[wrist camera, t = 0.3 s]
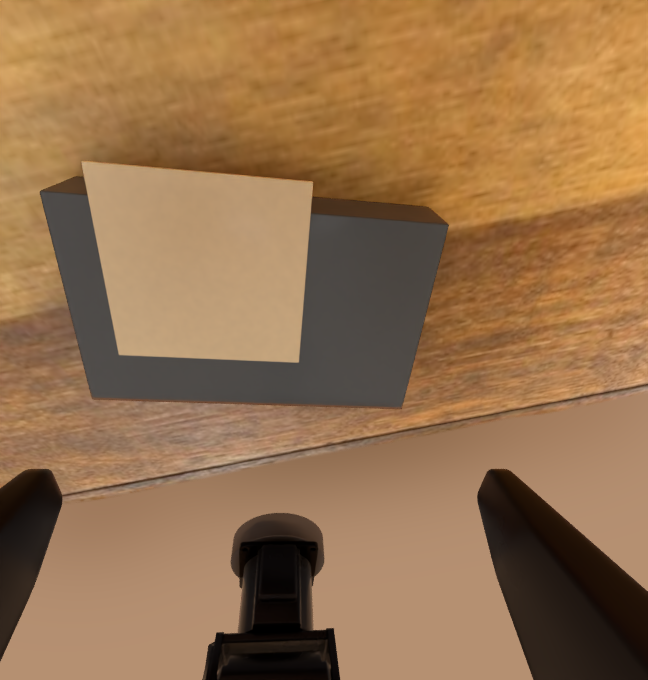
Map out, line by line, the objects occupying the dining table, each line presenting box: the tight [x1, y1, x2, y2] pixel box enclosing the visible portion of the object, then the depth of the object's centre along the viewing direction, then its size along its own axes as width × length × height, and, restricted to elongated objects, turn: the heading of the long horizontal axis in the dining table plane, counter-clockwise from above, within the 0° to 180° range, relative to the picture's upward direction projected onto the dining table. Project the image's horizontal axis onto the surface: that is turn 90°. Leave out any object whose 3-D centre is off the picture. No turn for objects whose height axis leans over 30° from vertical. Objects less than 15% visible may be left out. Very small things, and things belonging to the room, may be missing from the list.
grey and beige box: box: [40, 161, 449, 409], centre depth 20 cm, size 11×16×3 cm
